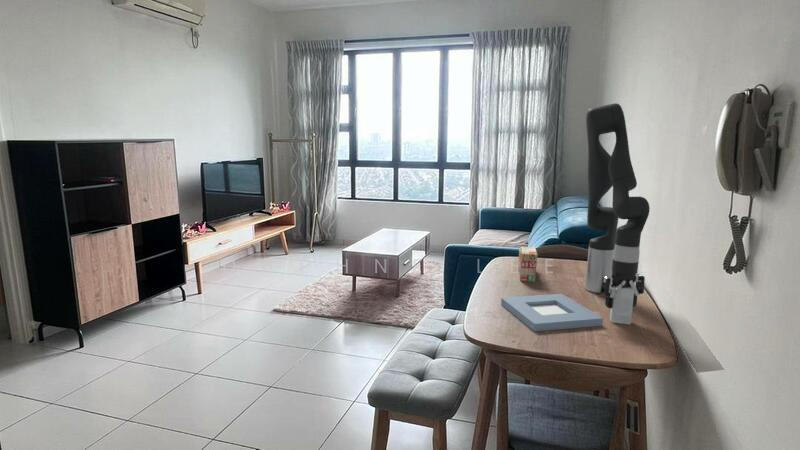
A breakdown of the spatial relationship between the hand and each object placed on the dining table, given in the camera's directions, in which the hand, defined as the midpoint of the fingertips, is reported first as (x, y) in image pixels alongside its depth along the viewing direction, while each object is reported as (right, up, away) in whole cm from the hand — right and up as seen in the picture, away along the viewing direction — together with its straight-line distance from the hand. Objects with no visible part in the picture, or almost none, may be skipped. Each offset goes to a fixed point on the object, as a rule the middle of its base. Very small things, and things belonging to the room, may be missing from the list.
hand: (620, 306), depth 151 cm
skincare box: (0, -5, +1) cm, 5 cm away
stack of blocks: (-16, +5, +52) cm, 55 cm away
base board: (-21, -4, +6) cm, 23 cm away
